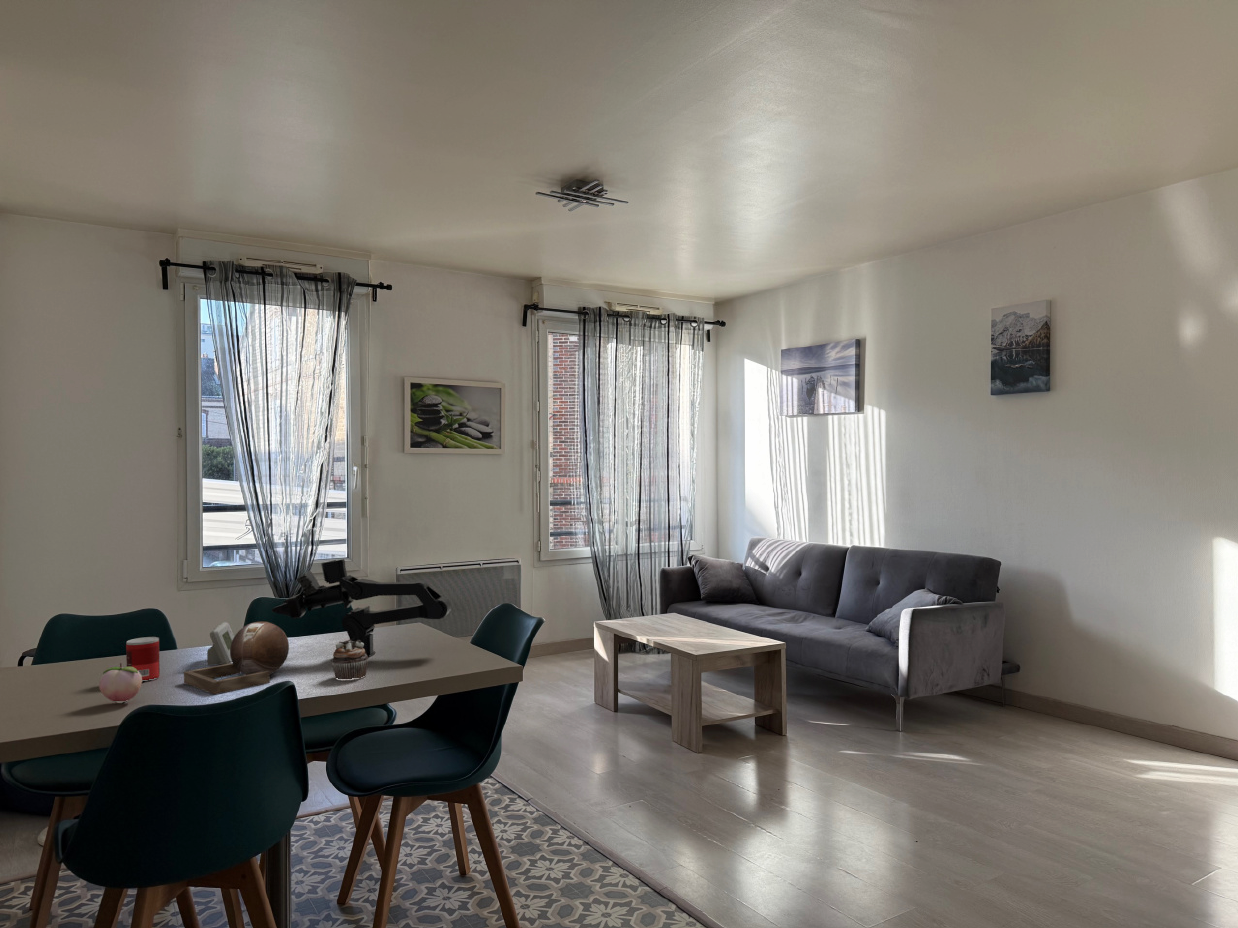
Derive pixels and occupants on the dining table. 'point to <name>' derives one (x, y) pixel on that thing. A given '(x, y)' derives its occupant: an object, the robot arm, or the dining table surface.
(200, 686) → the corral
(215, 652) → the digital clock
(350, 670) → the cupcake
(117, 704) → the dining table surface
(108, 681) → the decorative fruit
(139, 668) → the canned food
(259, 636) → the wooden sphere
